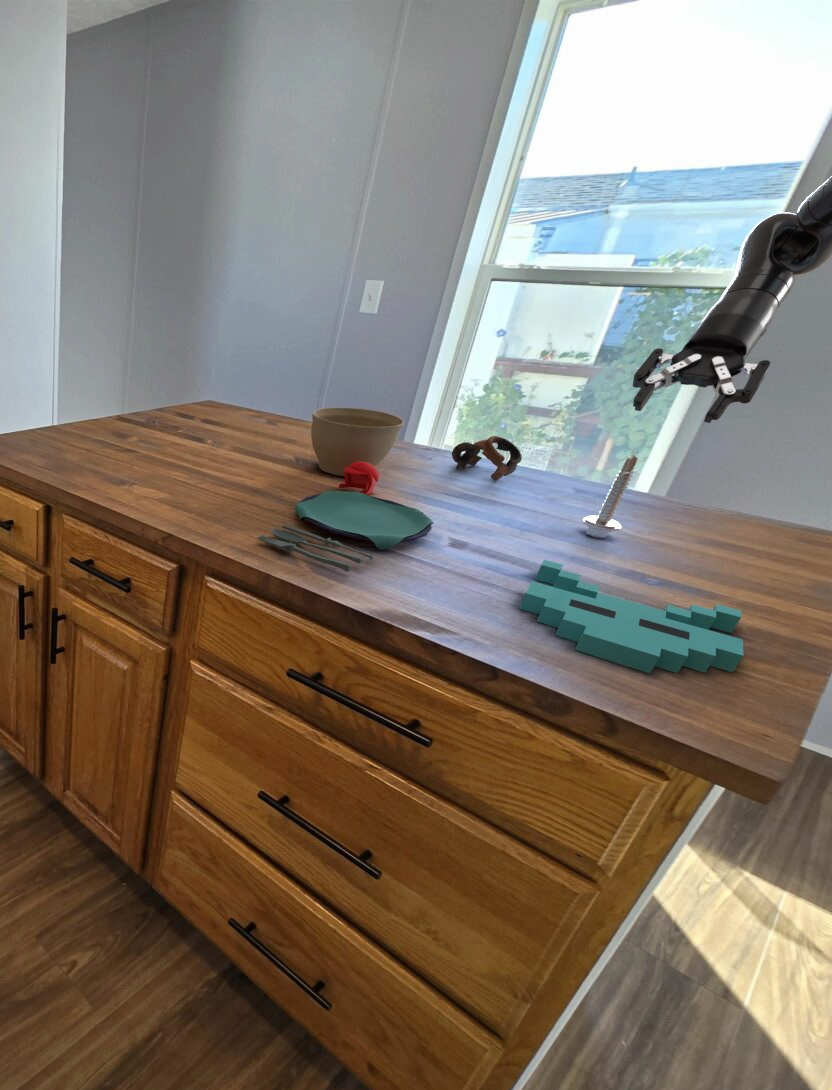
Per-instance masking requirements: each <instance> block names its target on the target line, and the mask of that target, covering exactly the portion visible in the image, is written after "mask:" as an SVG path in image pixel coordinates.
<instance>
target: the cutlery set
mask: <svg viewBox="0 0 832 1090" xmlns="http://www.w3.org/2000/svg"><path fill="white" fill-rule="evenodd" d="M359 492H360V491H346V490H345V491H343V490H334V491H333V490H326V491H323V492H322V493H318V494H313V495H309V496H306V497H304V498H303V499H301V500H300V501H299V502H297V503H296V504H295V505H294V511H295V513H296V514H297V516H298V518H299V519H300V521H305V520H306V521H308V522H310V523H311V524H313V525H314V526H316V527H318V528H321V529H323V530H325V531H328V532H329V533H333V534H337V535H340V536H344V537H347V538H352V539H359V540H365V541H371V542H372V543H374V544H375V546H376V547H377V549H378V550H380V551H384V550H388V549H390V548H393V547H396V546H397V545H398V544H399V543H400V542H407V541H414V540H417V539H420V538H423V537H426V536H427V535H428V534H429V533H430V532H431V531H432V529H433V527H432V525H433V524H434V521H433V520H432V519H431V518H429V516H427V514H425V513H424V512H423V511H422V510H420V509H417V508H415V507H410V506H407V505H404V504H402V503H398V502H395V501H392V500H390V499H384V498H381V497H376V496H371V495H366V494H363V493H359ZM281 528H282V529H279V528H272V529H269V531H270V532H271V534H273V535H274V537H275V539H274V538H271V537H268V536H265V535H263V534H261V535H260V536H257V537H256V539H257V540H259V541H260V542H262V543H265V544H268V545H270V546H273V547H275V548H277V549H279V550H282V551H284V552H287V553H292V552H297V553H298V554H301V555H303V556H305V557H306V558H309V559H312V560H314V561H317V562H319V563H322V564H325V565H329V566H332V567H335V568H338V569H340V570H342V571H344V572H347V573H348V572H350V571H351V570H352V567H353V565H352V564H350V563H346V562H342V561H340V560H337V559H332V558H328V557H326V556H321V555H319V554H316V553H312V552H310V551H308V550H305V549H303V548H301V547H299V546H297V545H304V546H308V547H311V548H314V549H318V550H320V551H323V552H328V553H331V554H333V555H336V556H339V557H342V558H345V559H347V560H349V561H351V562H354V563H356V564H359V565H360V564H363V563H364V560H365V558H364V557H366V558H368V559H369V560H370V561H373V559H374V556H375V554H369V553H367V552H364V551H360V550H357V549H354V548H352V547H350V546H348V545H345V544H343V543H341V542H340V541H338V540H332V539H331V537H328V538H324V537H322V536H320V535H317V534H314V533H312V532H309V531H306V530H304V529H300V528H297V527H295V526H291V525H285V524H282V526H281ZM304 536H305V537H308V538H310V539H314V540H316V541H319V542H322V543H324V546H322V545H319V544H315V543H310V542H308V541H307V539H306V538H305V537H304ZM328 545H330V546H331V547H333V548H331V547H328ZM326 546H327V547H326ZM334 547H335V548H342V549H345V550H348V551H351V552H353V553H356V554H359V555H361V556H357V555H353V554H352V553H347V552H345V551H342V550H338V549H335V548H334ZM362 556H364V557H362Z"/></svg>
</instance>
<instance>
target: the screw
mask: <svg viewBox="0 0 832 1090" xmlns="http://www.w3.org/2000/svg"><path fill="white" fill-rule="evenodd" d="M638 460H639V458H638V457H636V456H635V455H630V456H628V457H627V458H626V459H625V461H624V463H623V465H622V467H621V469H620V470H619V471H618V474H616V478H614V482H612V485H611V486H610V488H611V489H609V492H608V493H607V496H606V497H605V498H606V499H605V500H604V503H602V507H600V509H601V510H599V514H597V516H596V515H588V516H586V517H583V518H582V519H581V522H582V523H583V524H584V525H586V526H587V527H588V528H587V531H586V533H585V534H586V535H588V536H591V537H593V538H598V539H605V538H606V537H607V536H608V534H609V533H610V532H616V531H620V530H621V529H622V525H621V524H620V523H619V522H618V521H616V520H614V519H612V518H613V517H614V514H616V511H617V507H619V504H620V503H621V501H620V500H622V499H623V498H622V497H623V496H624V493H626V489H627V488H628V485H630V483H629V482H630V481H632V479H631V478H632V477H633V473H634V469H635V467H636V465H637V462H638Z"/></svg>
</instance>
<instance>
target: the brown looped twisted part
mask: <svg viewBox="0 0 832 1090" xmlns="http://www.w3.org/2000/svg"><path fill="white" fill-rule="evenodd" d="M493 444H496V445H497V446H496V447H495V446H494V445H493ZM481 451H482V452H481ZM498 451H503V452H509V459H508V461H507V462H506V463H504V461H505V460H506V457H505V455H503V454H501V453H500V452H498ZM480 452H481V454H482V455H483V456H484V457H485V458H486V459H487V460H488V461H490V462H491V464H493V466H495V467H497V468H496V469H495V471H494V472H493V473H492V474H491V475H490V479H492V480H494V481H498V480H500V479H502V478H503V477H507V476H509V475H511V474H513V473H514V472H515V471H516V470H517V468H518V464H519V463H521V462H522V460H523V457H522V456H523V455H522V454H521V451H520V449H519V448H518V447H517V446H516V445H515V444H514V443H513V442H512V441H510V440H508V439H506V438H504V437H501V436H498V435H491V436H490V437H489V438H487V439H480V440H478V441H476V442H474V443H470V442H466V441H464V442H461V443H458V444H457V445H455V446H454V448H452V451H451V457H452V460H453V461H454V462H455V463H456V465H455V469H457V470H459V469H461V470H465V469H466V468H467V466H468V465H469V466H472V467H475V466H476V465H477V463H479V462H480V461H481V460H482V459H483V458H482V456H479V453H480ZM462 453H463V454H462Z"/></svg>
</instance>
